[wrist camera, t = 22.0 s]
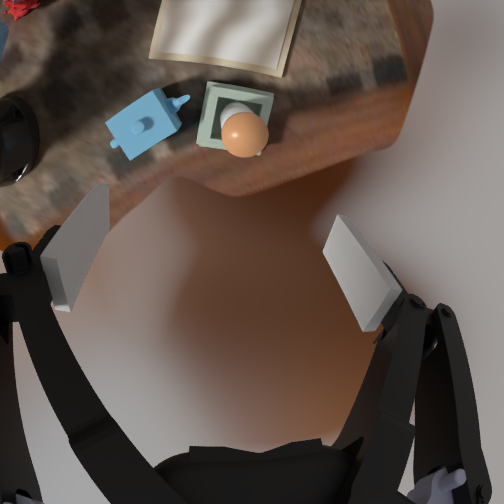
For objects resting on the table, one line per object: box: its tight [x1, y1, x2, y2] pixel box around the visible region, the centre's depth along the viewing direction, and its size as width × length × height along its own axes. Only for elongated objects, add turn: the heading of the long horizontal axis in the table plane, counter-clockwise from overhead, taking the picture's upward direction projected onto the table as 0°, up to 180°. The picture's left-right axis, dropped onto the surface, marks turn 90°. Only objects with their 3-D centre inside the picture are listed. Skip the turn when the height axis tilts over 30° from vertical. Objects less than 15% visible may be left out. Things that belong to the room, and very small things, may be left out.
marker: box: [220, 102, 269, 157], centre depth 30 cm, size 4×4×14 cm
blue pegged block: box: [105, 88, 190, 160], centre depth 32 cm, size 12×6×8 cm, turn 116°
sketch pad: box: [149, 0, 302, 78], centre depth 27 cm, size 18×14×1 cm
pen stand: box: [196, 81, 274, 155], centre depth 35 cm, size 9×9×4 cm
